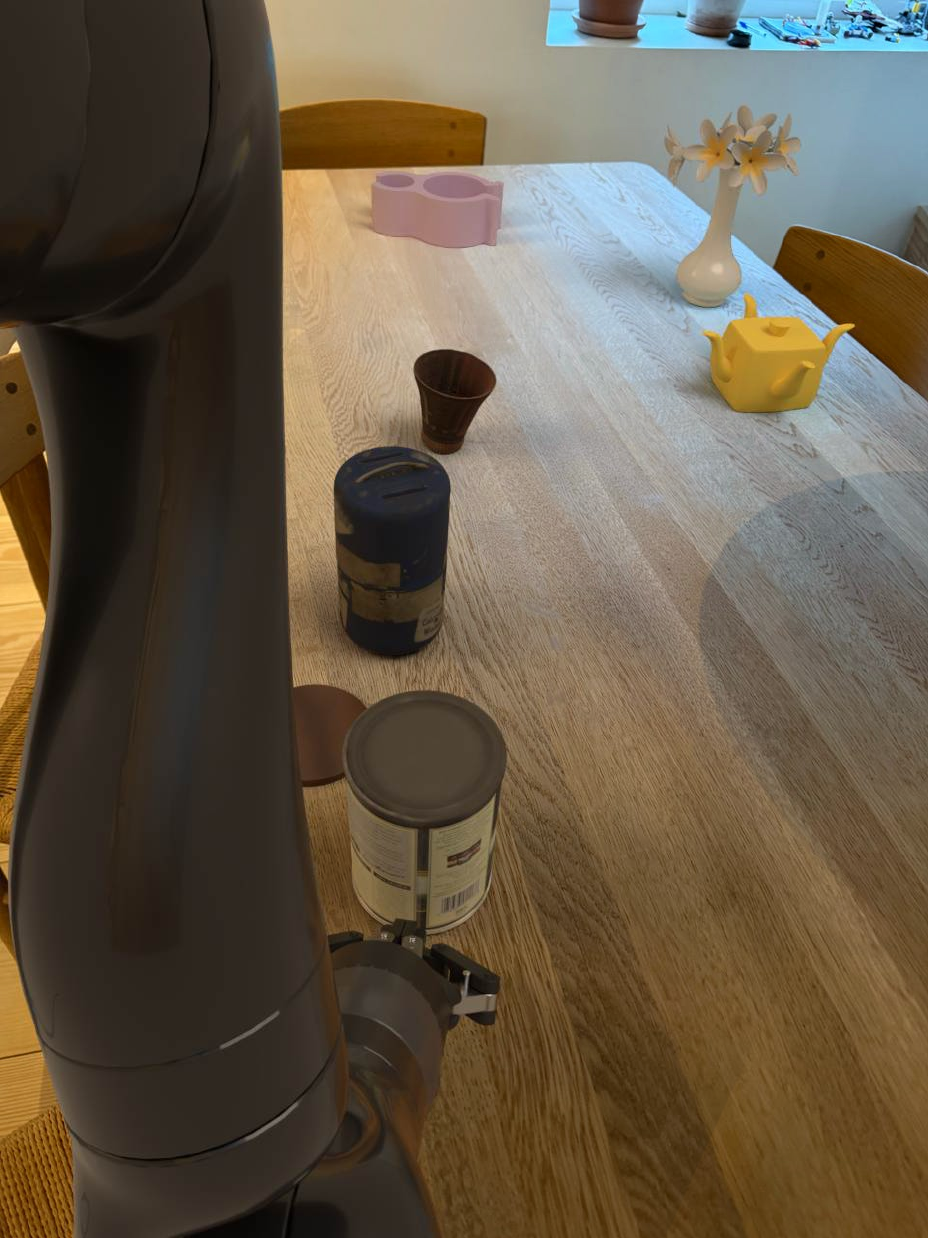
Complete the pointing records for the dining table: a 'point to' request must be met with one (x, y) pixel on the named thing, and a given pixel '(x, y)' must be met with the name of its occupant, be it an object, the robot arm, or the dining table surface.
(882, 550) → the dining table surface
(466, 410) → the cup
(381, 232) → the pink cup holder
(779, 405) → the teapot
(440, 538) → the canister
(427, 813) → the coffee can
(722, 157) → the flower vase
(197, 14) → the robot arm
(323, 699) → the dark brown wooden coaster
